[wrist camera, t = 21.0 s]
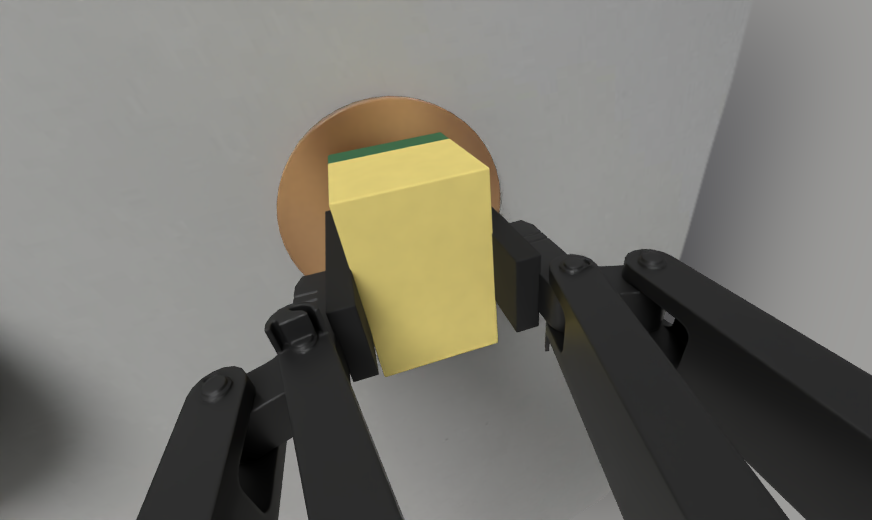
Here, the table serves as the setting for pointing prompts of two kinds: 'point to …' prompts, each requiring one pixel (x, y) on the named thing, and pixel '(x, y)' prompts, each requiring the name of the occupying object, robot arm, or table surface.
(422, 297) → the sponge
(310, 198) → the coaster
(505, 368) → the table surface
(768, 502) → the robot arm
